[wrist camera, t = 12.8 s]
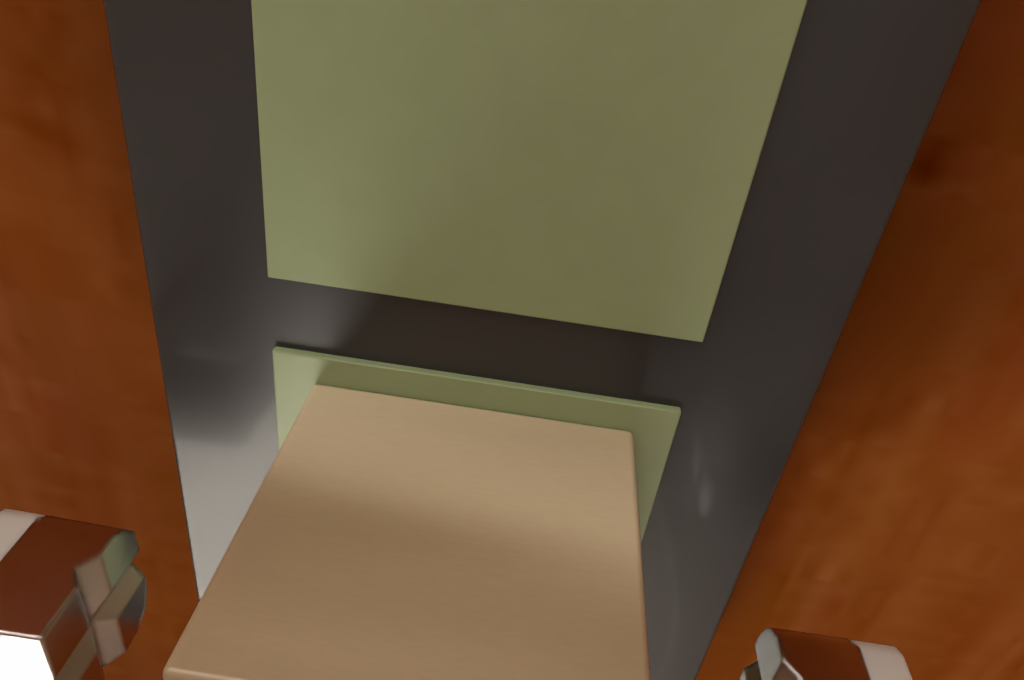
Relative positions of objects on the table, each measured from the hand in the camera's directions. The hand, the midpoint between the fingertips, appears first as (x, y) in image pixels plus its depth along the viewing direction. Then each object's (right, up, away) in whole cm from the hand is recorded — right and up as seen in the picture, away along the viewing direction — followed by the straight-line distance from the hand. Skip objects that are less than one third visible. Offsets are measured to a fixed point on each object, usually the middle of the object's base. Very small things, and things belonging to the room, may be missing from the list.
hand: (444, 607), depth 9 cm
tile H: (0, +1, +1) cm, 1 cm away
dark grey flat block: (+1, +4, 0) cm, 4 cm away
